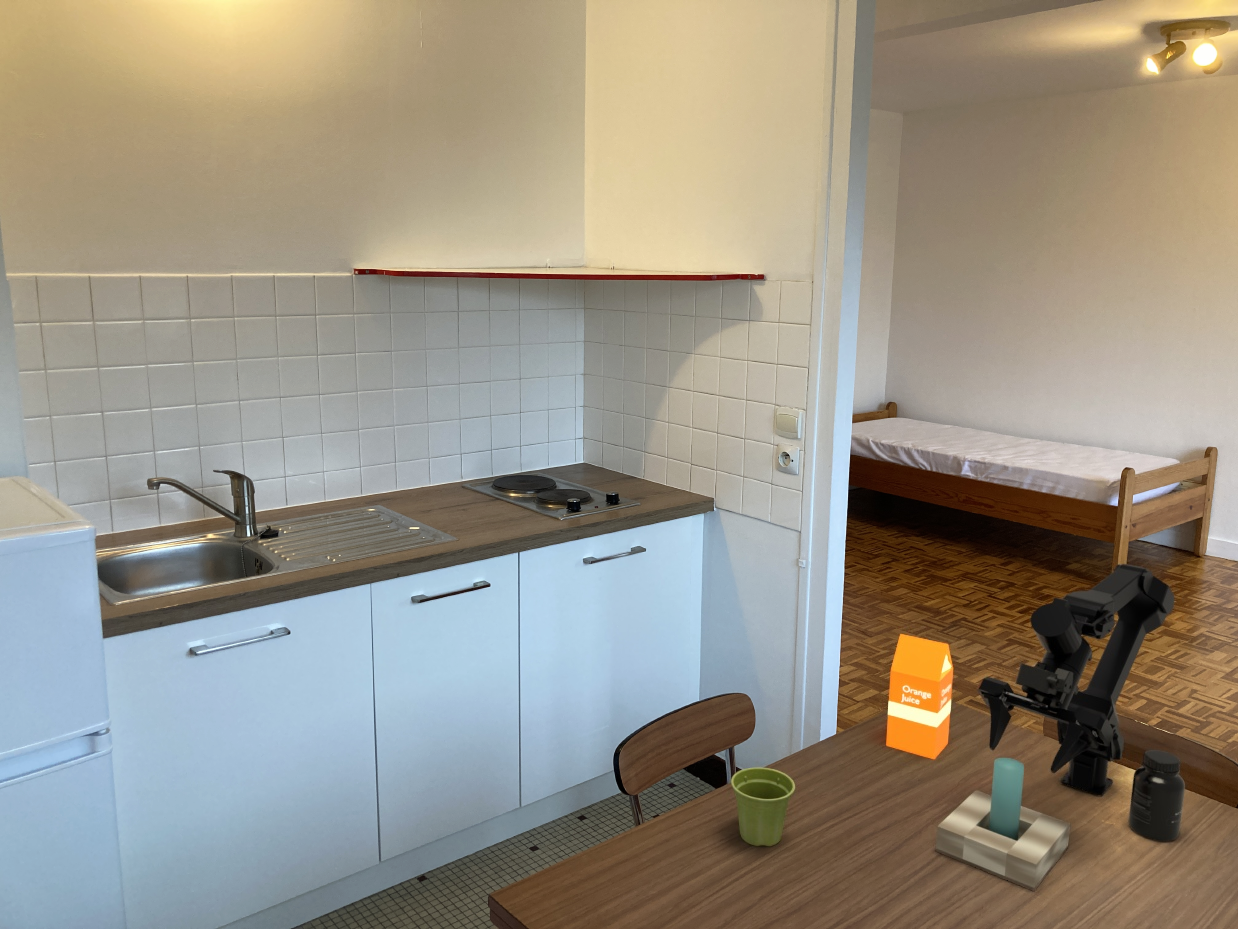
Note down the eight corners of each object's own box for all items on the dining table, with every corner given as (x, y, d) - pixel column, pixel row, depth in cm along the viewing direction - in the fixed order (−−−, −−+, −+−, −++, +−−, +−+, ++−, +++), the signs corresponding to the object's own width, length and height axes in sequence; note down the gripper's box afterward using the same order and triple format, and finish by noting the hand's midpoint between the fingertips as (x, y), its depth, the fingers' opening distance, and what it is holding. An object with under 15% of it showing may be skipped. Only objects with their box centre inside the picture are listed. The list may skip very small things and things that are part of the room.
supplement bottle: (1186, 845, 143) (1195, 770, 141) (1136, 840, 144) (1144, 765, 142) (1169, 820, 150) (1178, 748, 148) (1122, 815, 151) (1130, 744, 149)
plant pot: (805, 835, 145) (807, 782, 143) (769, 862, 138) (771, 806, 137) (753, 812, 151) (755, 761, 150) (716, 837, 145) (718, 783, 143)
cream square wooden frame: (974, 813, 151) (976, 790, 151) (1067, 848, 142) (1070, 823, 141) (935, 851, 141) (937, 826, 140) (1033, 891, 132) (1036, 864, 131)
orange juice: (900, 730, 180) (907, 627, 176) (948, 743, 175) (956, 638, 171) (885, 746, 174) (891, 640, 170) (934, 760, 169) (942, 651, 165)
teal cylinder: (987, 837, 144) (993, 755, 142) (1016, 841, 143) (1023, 760, 140) (988, 851, 140) (994, 768, 138) (1017, 856, 139) (1025, 773, 137)
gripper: (987, 626, 149) (945, 714, 144) (1113, 661, 135) (1071, 759, 130) (1007, 661, 156) (968, 747, 151) (1129, 698, 142) (1091, 793, 137)
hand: (1021, 760), depth 142 cm, fingers open, 9 cm apart
